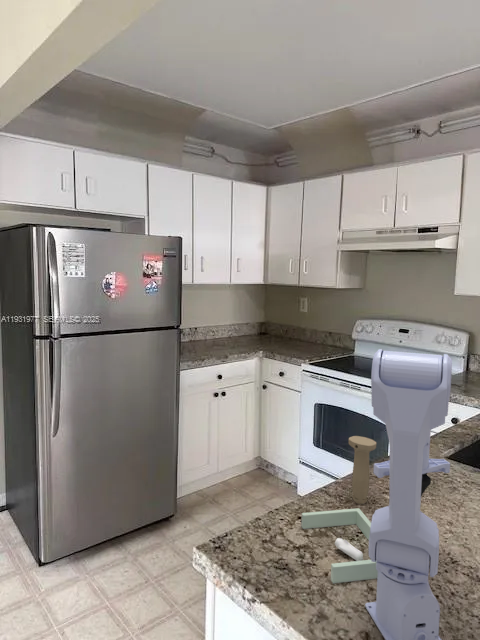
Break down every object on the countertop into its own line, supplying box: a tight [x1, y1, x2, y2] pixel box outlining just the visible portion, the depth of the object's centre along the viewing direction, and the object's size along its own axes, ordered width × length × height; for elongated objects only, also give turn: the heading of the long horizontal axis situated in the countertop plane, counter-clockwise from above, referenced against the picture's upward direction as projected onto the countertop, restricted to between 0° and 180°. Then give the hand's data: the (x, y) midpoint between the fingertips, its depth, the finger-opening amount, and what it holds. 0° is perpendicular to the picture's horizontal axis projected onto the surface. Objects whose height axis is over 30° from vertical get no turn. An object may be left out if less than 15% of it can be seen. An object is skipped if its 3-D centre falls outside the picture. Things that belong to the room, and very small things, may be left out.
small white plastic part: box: [334, 537, 364, 561], centre depth 87 cm, size 4×6×3 cm, turn 23°
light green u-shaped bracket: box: [300, 507, 378, 584], centre depth 89 cm, size 18×13×3 cm
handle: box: [348, 435, 377, 505], centre depth 107 cm, size 5×6×15 cm
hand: (409, 509), depth 86 cm, fingers closed
